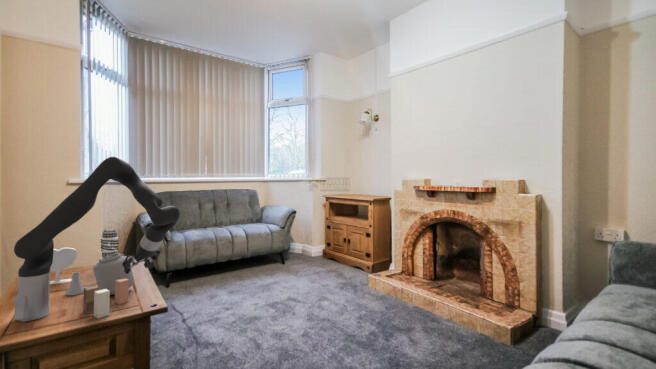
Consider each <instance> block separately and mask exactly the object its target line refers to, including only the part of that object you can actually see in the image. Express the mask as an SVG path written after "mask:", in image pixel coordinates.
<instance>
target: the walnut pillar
mask: <svg viewBox="0 0 656 369" xmlns="http://www.w3.org/2000/svg"><path fill="white" fill-rule="evenodd" d="M98 290H99V287H98V286H97V285H90V286H87V287H84V292H83V301H82V302H83V303H82V304H83V306H82V308H83V310H82V312H83V313H85V315H86V314H87V315H89V314H93V313H94V291H98Z"/></svg>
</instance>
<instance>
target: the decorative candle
mask: <svg viewBox="0 0 656 369" xmlns="http://www.w3.org/2000/svg"><path fill="white" fill-rule="evenodd" d="M101 232H102V234H101V238H100V249H101V250H100V252H101V257H100V258H102V257H105V256H108V255H111V254H116V253H118V252H119V251H118V250H119V244H120V243H119V241H120V240H118V238H119V237H118V230H117V229H116V228H107V229H104V230H103V231H101ZM108 244H109V245H108ZM104 249H105V250H104ZM114 249H115V250H116V251H115V250H114Z"/></svg>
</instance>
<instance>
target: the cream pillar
mask: <svg viewBox="0 0 656 369" xmlns="http://www.w3.org/2000/svg"><path fill="white" fill-rule="evenodd" d="M110 296H111V295H110V291H109V290H107V289H102V290H98V291H94V312H93V316H94V318H96V319H100V318H103V317H107V316H109V315H110V300H111V299H110Z"/></svg>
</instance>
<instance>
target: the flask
mask: <svg viewBox="0 0 656 369" xmlns="http://www.w3.org/2000/svg"><path fill="white" fill-rule="evenodd" d="M70 274H71V279H72V280H71V281H70V283H69V285H68V286H67V290H66V291H65V293H64V294H65V295H66V296H78V295H82V294H84V288H85V287H84V286H83V283H82V281H81V278H80V275H81V272H80V271H75V272H72V273H70Z"/></svg>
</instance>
